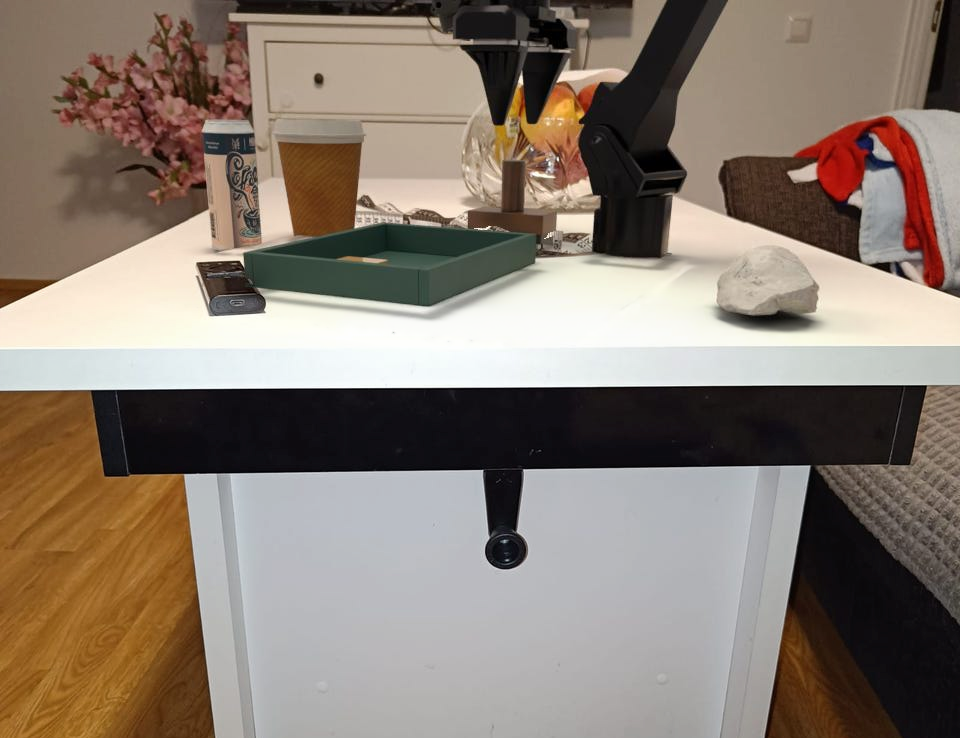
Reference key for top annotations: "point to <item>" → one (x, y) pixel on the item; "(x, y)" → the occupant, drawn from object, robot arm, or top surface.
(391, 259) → the tray
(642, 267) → the top surface
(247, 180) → the coffee drink can
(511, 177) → the scrub brush
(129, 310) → the top surface
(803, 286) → the grey stone
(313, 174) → the disposable coffee cup
